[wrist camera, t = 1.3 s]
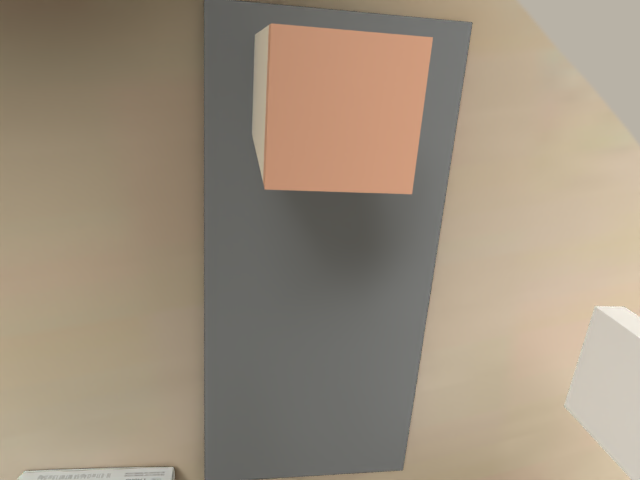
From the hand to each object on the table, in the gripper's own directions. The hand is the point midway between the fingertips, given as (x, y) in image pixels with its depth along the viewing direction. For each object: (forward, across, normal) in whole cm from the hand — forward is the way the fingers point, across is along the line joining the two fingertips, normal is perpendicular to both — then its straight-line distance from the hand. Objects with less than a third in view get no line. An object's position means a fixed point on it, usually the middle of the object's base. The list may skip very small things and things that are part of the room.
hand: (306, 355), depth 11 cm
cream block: (+19, +2, +4) cm, 20 cm away
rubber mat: (+20, +4, -7) cm, 21 cm away
